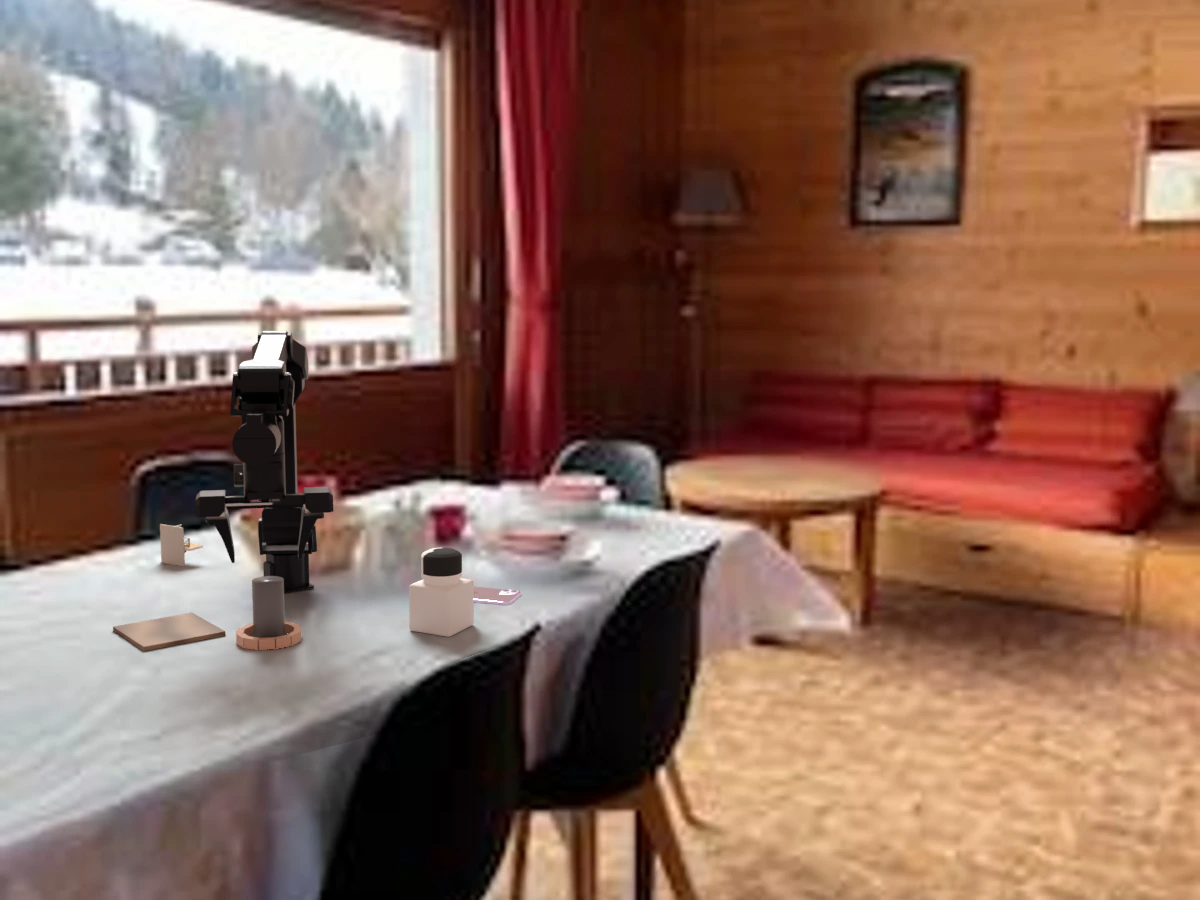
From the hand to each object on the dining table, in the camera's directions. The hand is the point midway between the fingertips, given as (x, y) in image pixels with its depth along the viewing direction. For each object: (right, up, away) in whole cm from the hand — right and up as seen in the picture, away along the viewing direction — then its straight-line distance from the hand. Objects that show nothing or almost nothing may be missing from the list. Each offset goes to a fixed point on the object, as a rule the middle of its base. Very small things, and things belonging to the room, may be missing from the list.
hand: (266, 560), depth 182 cm
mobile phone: (+27, -9, +27) cm, 39 cm away
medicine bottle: (+24, -11, +9) cm, 28 cm away
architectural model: (-28, -5, +45) cm, 53 cm away
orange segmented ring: (0, -12, +2) cm, 12 cm away
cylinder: (0, -12, +2) cm, 12 cm away
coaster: (-15, -11, +4) cm, 20 cm away
